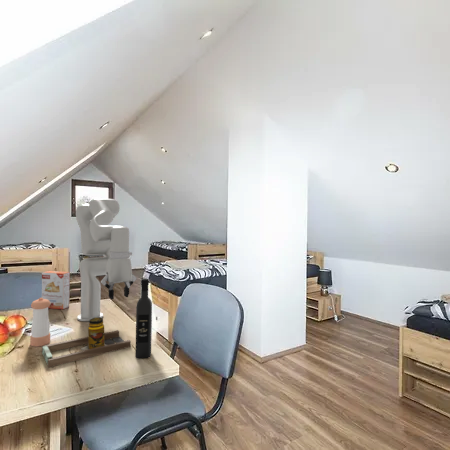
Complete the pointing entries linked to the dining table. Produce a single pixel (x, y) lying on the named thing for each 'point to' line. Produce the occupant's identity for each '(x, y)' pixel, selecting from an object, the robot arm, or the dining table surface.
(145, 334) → the wine bottle
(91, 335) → the condiment
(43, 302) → the pepper shaker
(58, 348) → the trap lane
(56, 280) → the cracker box
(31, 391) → the dining table surface
